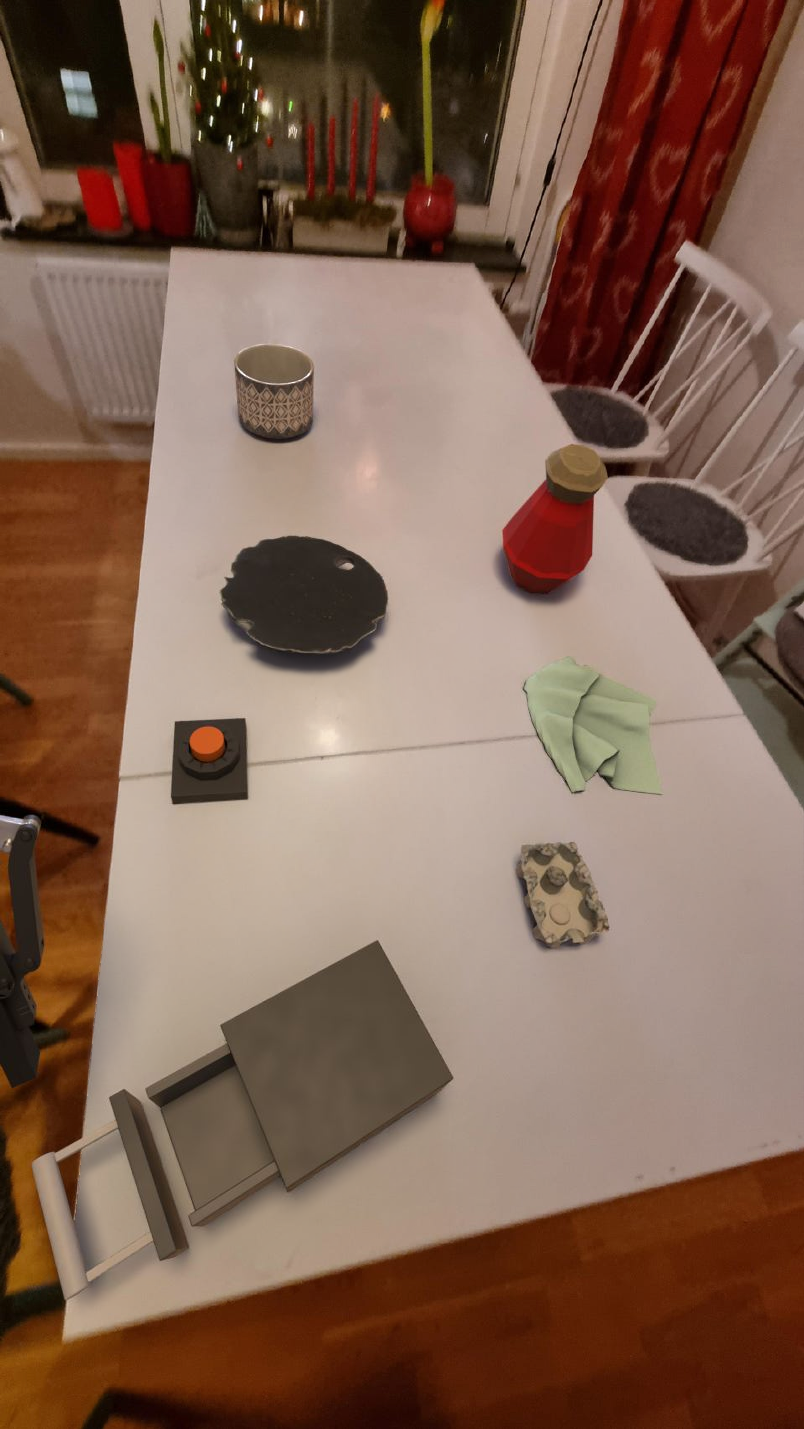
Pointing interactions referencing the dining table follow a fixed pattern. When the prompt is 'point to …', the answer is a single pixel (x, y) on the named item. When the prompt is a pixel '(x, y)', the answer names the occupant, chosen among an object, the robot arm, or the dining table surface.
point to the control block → (210, 764)
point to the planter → (274, 390)
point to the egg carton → (561, 894)
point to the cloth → (593, 727)
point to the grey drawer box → (334, 1061)
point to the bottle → (555, 522)
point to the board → (304, 595)
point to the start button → (207, 744)
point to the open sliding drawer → (209, 1147)
